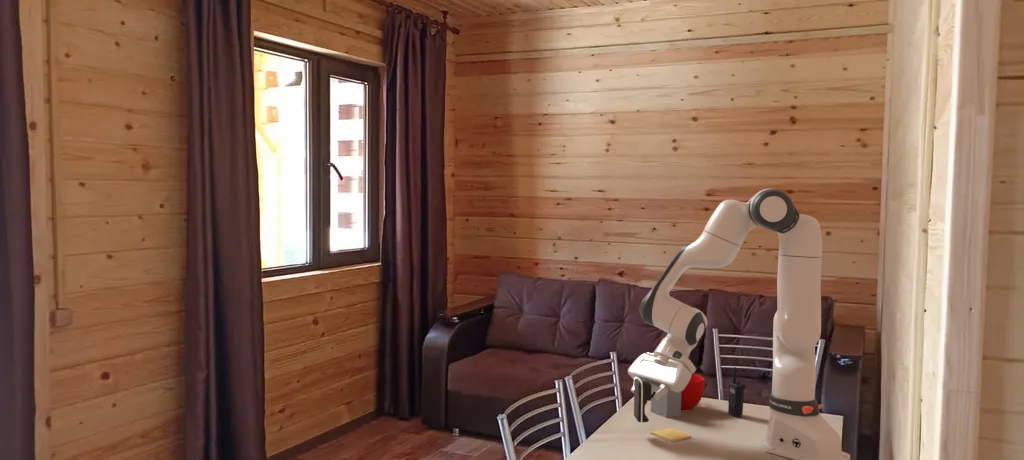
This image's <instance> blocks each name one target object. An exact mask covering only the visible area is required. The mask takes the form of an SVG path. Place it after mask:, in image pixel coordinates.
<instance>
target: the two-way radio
mask: <svg viewBox="0 0 1024 460" xmlns="http://www.w3.org/2000/svg"><path fill="white" fill-rule="evenodd" d="M745 389H746V384H744V383H741V382H740V380H738V379H737V367H736V366H734V367H733V371H732V382H730V383H729V385H728V408H727V409H728V411H727V413H728V414H730V415H731V416H733V417H735V418H739V417H742V416H743V413H744V412H743V410H744V398H745V396H744V395H745V393H744V392H745Z"/></svg>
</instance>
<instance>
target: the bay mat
mask: <svg viewBox="0 0 1024 460" xmlns="http://www.w3.org/2000/svg"><path fill="white" fill-rule="evenodd" d="M650 435H652V436H655V437H657V438H660V439H662V440H665V441H668V442H670V443H672V442H677V441H682V440H686V439H692V435H691V434H688V433H686V432H683V431H682V430H678V429H675V428H674V427H669V428H663V429H658V430H653V431H650Z"/></svg>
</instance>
